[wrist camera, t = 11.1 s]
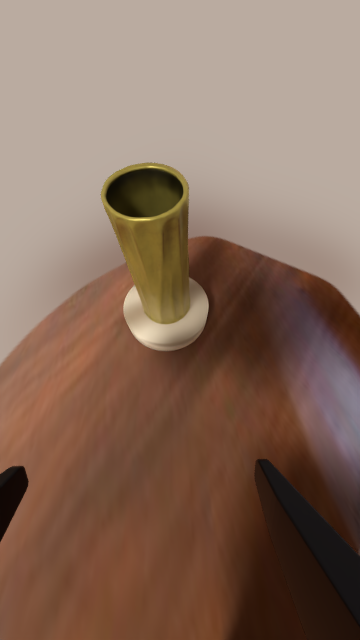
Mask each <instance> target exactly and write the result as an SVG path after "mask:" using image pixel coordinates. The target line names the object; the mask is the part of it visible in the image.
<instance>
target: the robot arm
mask: <svg viewBox="0 0 360 640" xmlns="http://www.w3.org/2000/svg"><path fill="white" fill-rule="evenodd" d="M255 482H256V486H257V490H258V493H259V497H260V501H261V504H262V508H263V512H264V515H265V519H266V523H267V526H268V530H269V533H270V537H271V540H272V543H273V546H274V549H275V551H276V554H277V557H278V560H279V562H280V565H281V568H282V571H283V574H284V576H285V579H286V582H287V585H288V588H289V590H290V593H291V596H292V599H293V602H294V604H295V607H296V610H297V613H298V616H299V618H300V621H301V624H302V627H303V629H304V632H305V635H306V638H307V640H360V556H359V555H358V554H357V553H356V552H355V551H354V550H353V549H352V548H351V547H350V545H349V544H348V543H347V542H346V541H345V540H344V539H343V538H342V537H341V536H340V535H339V534H338V533H337V532H336V531H335V530H334V529H333V528H332V527H331V525H330V524H329V523H328V522H327V521H326V520H325V519H324V518H323V517H322V516H321V515H320V514H319V513H318V512H317V511H316V510H315V509H314V508H313V507H312V506H311V504H310V503H309V502H308V501H307V500H306V499H305V498H304V497H303V496H302V495H301V494H300V493H299V492H298V491H297V490H296V489H295V488H294V487H293V486H292V484H291V483H290V482H289V481H288V480H287V479H286V478H285V477H284V476H283V475H282V474H281V473H280V472H279V471H278V470H277V469H276V468H275V467H274V466H273V465H272V463H271V462H270V461H269V460H267V459H257V460H256V465H255ZM27 487H28V478H27V474H26V471H25V468H24V467H23V466H12V467H10V468H8V469H7V470H5V471H4V472H3V473H1V474H0V542H1V540H2V538H3V536H4V534H5V532H6V530H7V528H8V526H9V524H10V522H11V520H12V518H13V516H14V514H15V512H16V510H17V508H18V506H19V504H20V502H21V500H22V498H23V496H24V494H25V492H26V489H27Z"/></svg>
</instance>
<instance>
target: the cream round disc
mask: <svg viewBox="0 0 360 640" xmlns="http://www.w3.org/2000/svg"><path fill="white" fill-rule="evenodd" d="M189 295H190V308H189V311H188V312H187V314H186V315H185V316H184V317H183V318H182V319H181V320H179V321H177V322H175V323H172V324H159V323H156V322H154V321H152V320H150V319H149V318H148V317H147V316H146V314H145V313H144V311H143V307H142V303H141V300H140V297H139V295H138V292H137V289H136V287H135V285H134V286H133V287H132V289H131V290H130V291H129V293H128V294H127V296H126V299H125V302H124V316H125V320H126V322H127V324H128V326H129V328H130V330H131V332H132V334H133V335H134V337H135V338H136V339H137V340H138V341H139V342H140V343H141V344H143V345H144V346H146V347H148V348H151V349H154V350H158V351H174V350H178V349H181V348H184V347H186V346H188V345H190V344H191V343H193V342H194V341H195V340H196V339H197V338H198V337H199V336H200V334H201V333H202V331H203V329H204V327H205V323H206V319H207V315H208V309H209V304H208V299H207V295H206V293H205V291H204V290H203V288H202V287H201V286H200V285H199V284H198V283H197V282H196V281H194V280H193V279H191V278H189Z"/></svg>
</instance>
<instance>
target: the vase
mask: <svg viewBox="0 0 360 640" xmlns="http://www.w3.org/2000/svg"><path fill="white" fill-rule="evenodd" d="M188 197H189V186H188V183H187V181H186V179H185V178H184V177H183V175H182V174H181V173H180V172H179V171H177V170H176V169H174V168H172V167H170V166H167V165H164V164H158V163H142V164H135V165H131V166H128V167H126V168H123V169H121V170H119V171H117V172H115V173H114V174H112V175H111V176H110V177H109V178H108V179H107V180H106V182H105V183H104V185H103V189H102V191H101V198H102V202H103V205H104V208H105V210H106V213H107V215H108V217H109V219H110V222H111V224H112V226H113V229H114V232H115V234H116V236H117V239H118V242H119V245H120V247H121V250H122V252H123V254H124V257H125V260H126V263H127V265H128V268H129V271H130V273H131V276H132V279H133V282H134V284H135V287H136V289H137V292H138V295H139V297H140V300H141V303H142V307H143V311H144V313H145V314H146V316H147V317H148V318H149V319H150V320H152V321H154V322H156V323H159V324H172V323H175V322H177V321H179V320H181V319H182V318H183V317H184V316H185V315H186V314H187V312H188V311H189V308H190V295H189V257H188V207H189V206H188V205H189V199H188Z"/></svg>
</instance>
